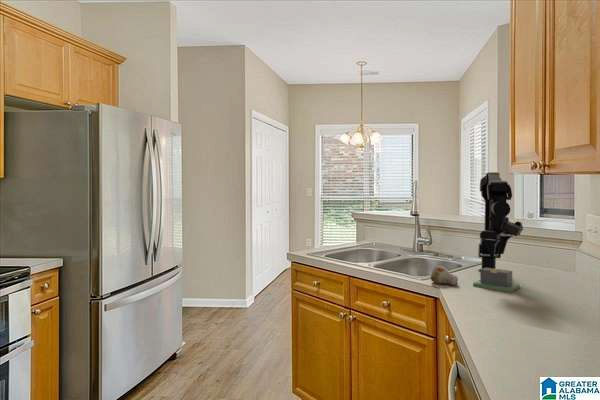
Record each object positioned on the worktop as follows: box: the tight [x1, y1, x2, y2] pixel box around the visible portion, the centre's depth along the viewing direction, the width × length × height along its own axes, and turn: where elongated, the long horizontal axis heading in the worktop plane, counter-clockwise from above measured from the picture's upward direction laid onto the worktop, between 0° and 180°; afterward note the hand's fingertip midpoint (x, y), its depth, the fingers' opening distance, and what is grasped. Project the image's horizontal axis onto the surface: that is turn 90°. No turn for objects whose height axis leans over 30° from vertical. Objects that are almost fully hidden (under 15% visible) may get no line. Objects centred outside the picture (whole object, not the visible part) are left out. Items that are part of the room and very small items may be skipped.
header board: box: [472, 279, 521, 293], centre depth 175 cm, size 9×14×4 cm, turn 46°
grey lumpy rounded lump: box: [430, 264, 459, 286], centre depth 181 cm, size 8×10×10 cm
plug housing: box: [479, 268, 513, 286], centre depth 175 cm, size 5×10×5 cm, turn 46°
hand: (497, 255), depth 175 cm, fingers open, 9 cm apart
